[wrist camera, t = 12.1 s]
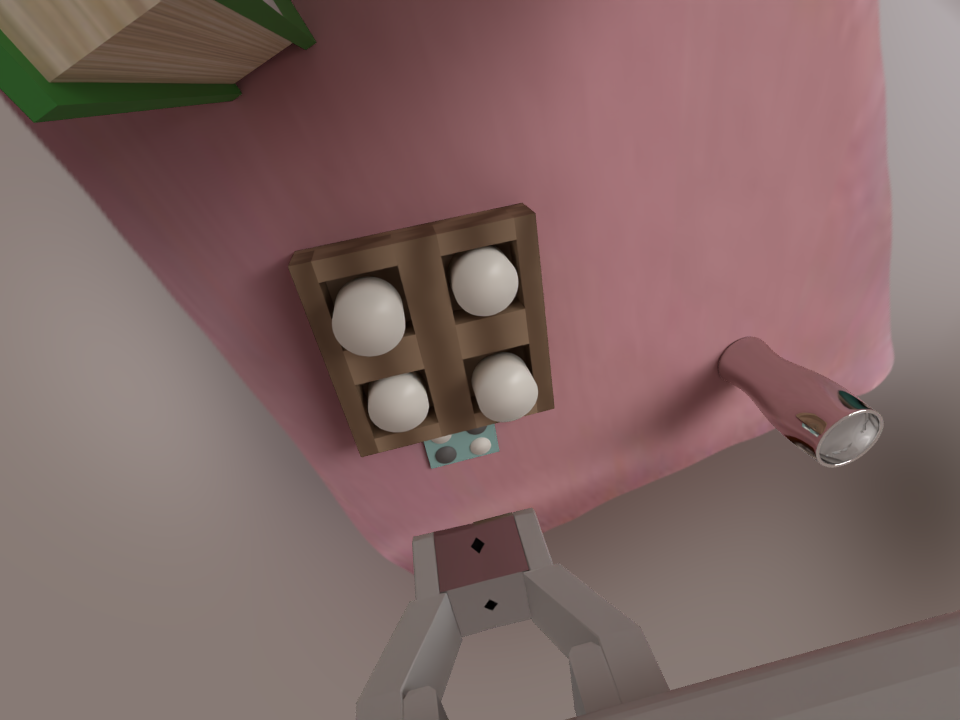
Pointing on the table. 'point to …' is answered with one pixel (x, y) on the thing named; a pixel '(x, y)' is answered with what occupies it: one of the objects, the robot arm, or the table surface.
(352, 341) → the button
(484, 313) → the button
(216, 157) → the table surface
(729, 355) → the beer glass
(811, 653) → the robot arm
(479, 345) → the wooden compartment tray
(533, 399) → the button
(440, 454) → the card
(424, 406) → the button
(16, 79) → the hardback book
